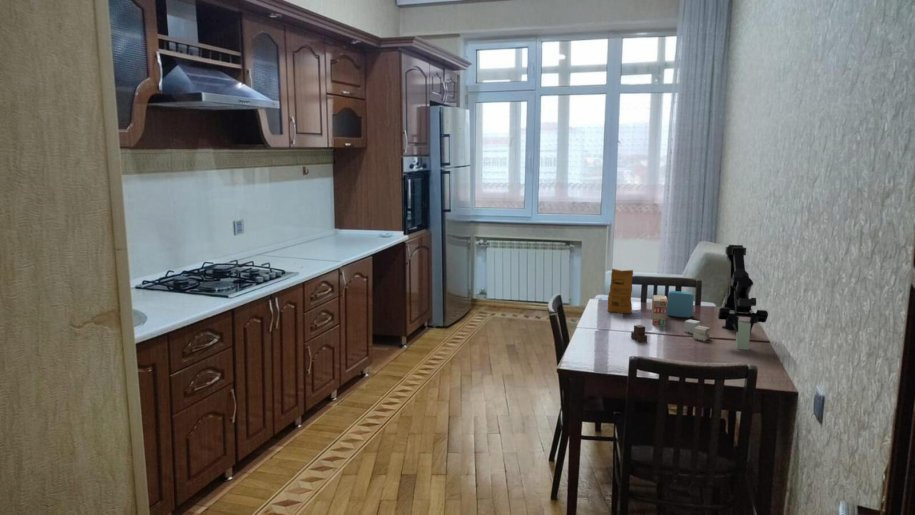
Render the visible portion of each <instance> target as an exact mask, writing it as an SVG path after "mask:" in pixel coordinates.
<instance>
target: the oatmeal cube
mask: <svg viewBox="0 0 915 515" xmlns="http://www.w3.org/2000/svg"><path fill="white" fill-rule="evenodd" d="M710 332H711V328H710V327H707V326H703V325H700V326H697V327H695V328H694V334H693V335H692V337H693V338H692V339H693V340H697V339H698V341H702V340H703V342H705V341H707V339H708V340H709V339H710Z"/></svg>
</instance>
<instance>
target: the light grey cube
mask: <svg viewBox="0 0 915 515" xmlns="http://www.w3.org/2000/svg"><path fill="white" fill-rule="evenodd" d="M697 326H701V320H694V319H687V320H685V321H684V327H683V328H684V329H683V330H684V331H683V332H684V333H688V332H689V333H690V334H693V335H694V328H695V327H697ZM689 333H688V334H689Z"/></svg>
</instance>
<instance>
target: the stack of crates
mask: <svg viewBox="0 0 915 515" xmlns="http://www.w3.org/2000/svg"><path fill="white" fill-rule="evenodd" d="M630 338H631V339H632V340H634V341H636V342H639V343H647V342H648V335H647V334H646V326H645V325H642V324H636V325H635V324H634V325H633V331H631V333H630Z"/></svg>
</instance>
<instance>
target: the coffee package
mask: <svg viewBox="0 0 915 515" xmlns="http://www.w3.org/2000/svg"><path fill="white" fill-rule="evenodd" d="M633 275H634V270H633V269H628V270H620V269H615V268H612V269H611V274H610V276H611V277H610V278H611V279H610V285H609V293H608V296H607V312H608V311H610V312H609V313H618V314H631V312H632V311H633V306H632V293H633V277H634V276H633Z"/></svg>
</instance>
